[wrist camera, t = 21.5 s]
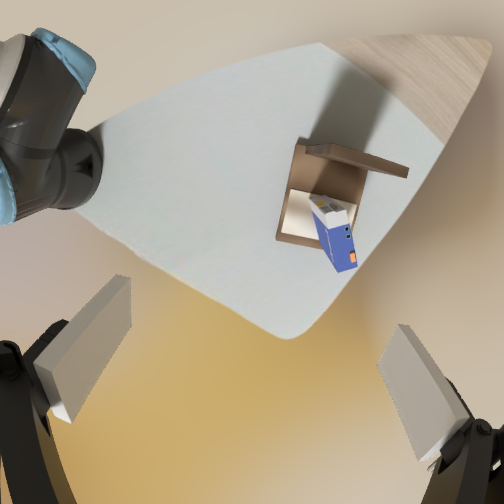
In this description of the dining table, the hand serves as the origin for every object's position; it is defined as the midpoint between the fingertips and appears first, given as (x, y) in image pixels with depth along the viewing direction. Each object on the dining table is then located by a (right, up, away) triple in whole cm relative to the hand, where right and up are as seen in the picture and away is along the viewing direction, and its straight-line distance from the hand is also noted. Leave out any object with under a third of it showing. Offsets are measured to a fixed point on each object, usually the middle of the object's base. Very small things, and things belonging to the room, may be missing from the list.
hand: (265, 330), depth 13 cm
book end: (+11, +12, +32) cm, 36 cm away
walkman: (+10, +9, +32) cm, 35 cm away
